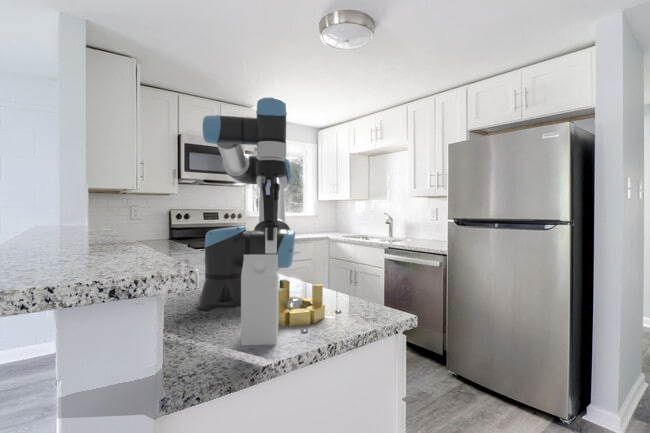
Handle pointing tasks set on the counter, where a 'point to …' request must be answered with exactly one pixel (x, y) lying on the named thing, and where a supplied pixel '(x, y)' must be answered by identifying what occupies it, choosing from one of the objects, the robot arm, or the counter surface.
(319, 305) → the gold foil sensor mount
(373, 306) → the counter surface
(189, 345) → the counter surface
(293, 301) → the flange plate
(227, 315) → the counter surface
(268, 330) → the milk carton
